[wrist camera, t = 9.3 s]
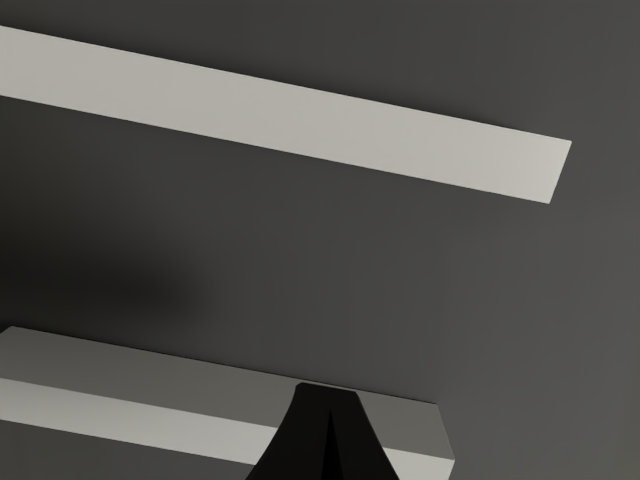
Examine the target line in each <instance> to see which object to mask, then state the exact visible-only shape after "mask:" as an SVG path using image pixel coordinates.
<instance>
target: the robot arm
mask: <svg viewBox="0 0 640 480" xmlns="http://www.w3.org/2000/svg"><path fill="white" fill-rule="evenodd" d="M245 480H400V479H399V477H398V475H397V474H396V472H395V470H394V468H393V466H392V464H391V463H390V461H389V459H388V457H387V455H386V453H385V451H384V450H383V448H382V446H381V444H380V442H379V440H378V438H377V436H376V434H375V431H374V429H373V427H372V425H371V423H370V421H369V419H368V416H367V414H366V412H365V410H364V407H363V405H362V403H361V400H360V398H359V396H358V394H357V393H356V391H351V390H345V389H339V388H333V387H328V386H322V385H316V384H310V383H305V382H301V383H299V384H297V385H296V387H295V392H294V395H293V398H292V401H291V403H290V406H289V408H288V410H287V412H286V414H285V416H284V418H283V421H282V422H281V424H280V426H279V428H278V429H277V431H276V433H275V435H274V436H273V438H272V440H271V442H270V443H269V445H268V447H267V448H266V450H265V452H264V453H263V454H262V456H261V457H260V459H259V460H258V462H257V463H256V465H255V466H254V468H253V469H252V471H251V472H250V474H249V475H248V477H247V478H246V479H245Z"/></svg>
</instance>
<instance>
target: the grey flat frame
mask: <svg viewBox="0 0 640 480" xmlns="http://www.w3.org/2000/svg"><path fill="white" fill-rule="evenodd" d="M0 95H3V96H8V97H13V98H18V99H23V100H28V101H33V102H39V103H44V104H49V105H54V106H59V107H64V108H69V109H74V110H79V111H84V112H89V113H94V114H99V115H104V116H109V117H114V118H119V119H124V120H129V121H134V122H140V123H145V124H150V125H155V126H160V127H165V128H170V129H175V130H180V131H185V132H190V133H195V134H200V135H205V136H210V137H215V138H220V139H225V140H230V141H235V142H241V143H246V144H251V145H256V146H261V147H266V148H271V149H276V150H281V151H286V152H291V153H296V154H301V155H306V156H311V157H316V158H321V159H326V160H331V161H336V162H342V163H347V164H352V165H357V166H362V167H367V168H372V169H377V170H382V171H387V172H392V173H397V174H402V175H407V176H412V177H417V178H422V179H427V180H432V181H437V182H443V183H448V184H453V185H458V186H463V187H468V188H473V189H478V190H483V191H488V192H493V193H498V194H503V195H508V196H513V197H518V198H523V199H528V200H533V201H538V202H543V203H550V200H551V197H552V195H553V192H554V189H555V186H556V184H557V181H558V178H559V176H560V173H561V170H562V167H563V165H564V162H565V159H566V156H567V154H568V151H569V148H570V146H571V143H572V141H568V140H563V139H558V138H553V137H548V136H543V135H538V134H533V133H528V132H523V131H518V130H513V129H508V128H503V127H498V126H494V125H489V124H484V123H479V122H474V121H469V120H464V119H459V118H454V117H449V116H444V115H439V114H434V113H429V112H424V111H419V110H414V109H409V108H404V107H400V106H395V105H390V104H385V103H380V102H375V101H370V100H365V99H360V98H355V97H350V96H345V95H340V94H335V93H330V92H325V91H320V90H315V89H310V88H306V87H301V86H296V85H291V84H286V83H281V82H276V81H271V80H266V79H261V78H256V77H251V76H246V75H241V74H236V73H231V72H226V71H221V70H216V69H211V68H207V67H202V66H197V65H192V64H187V63H182V62H177V61H172V60H167V59H162V58H157V57H152V56H147V55H142V54H137V53H132V52H127V51H122V50H117V49H113V48H108V47H103V46H98V45H93V44H88V43H83V42H78V41H73V40H68V39H63V38H58V37H53V36H48V35H43V34H38V33H33V32H28V31H23V30H19V29H14V28H9V27H4V26H0ZM301 382H305V383H310V384H316V385H322V386H328V387H333V388H339V389H345V390H351V391H356V393H357V394H358V396H359V398H360V400H361V403H362V405H363V407H364V410H365V412H366V414H367V416H368V419H369V421H370V423H371V425H372V427H373V429H374V431H375V434H376V436H377V438H378V440H379V442H380V444H381V446H382V448H383V450H384V451H385V453H386V455H387V457H388V459H389V461H390V463H391V464H392V466H393V468H394V470H395V472H396V474H397V475H398V477H399V479H400V480H448V478H449V475H450V473H451V470H452V467H453V465H454V462H455V459H454V456H453V453H452V450H451V447H450V444H449V441H448V437H447V434H446V431H445V428H444V425H443V422H442V419H441V416H440V413H439V410H438V407H437V404H431V403H426V402H421V401H415V400H410V399H404V398H399V397H393V396H388V395H383V394H377V393H372V392H366V391H361V390H356V389H350V388H345V387H339V386H334V385H328V384H323V383H318V382H312V381H307V380H301V379H296V378H290V377H285V376H280V375H274V374H269V373H263V372H258V371H253V370H247V369H242V368H236V367H231V366H225V365H220V364H215V363H209V362H204V361H198V360H193V359H188V358H182V357H177V356H171V355H166V354H160V353H155V352H150V351H144V350H139V349H133V348H128V347H122V346H117V345H112V344H106V343H101V342H95V341H90V340H85V339H79V338H74V337H68V336H63V335H57V334H52V333H47V332H41V331H36V330H30V329H25V328H19V327H14V326H11V327H9V328H8V329H6V330H5V331H4V332H2V333H1V334H0V419H2V420H8V421H13V422H19V423H24V424H30V425H36V426H41V427H47V428H52V429H58V430H64V431H69V432H75V433H80V434H86V435H92V436H97V437H103V438H108V439H114V440H120V441H125V442H131V443H136V444H142V445H147V446H153V447H159V448H164V449H170V450H175V451H181V452H187V453H192V454H198V455H203V456H209V457H215V458H220V459H226V460H231V461H237V462H243V463H248V464H254V465H256V463H257V462H258V460H259V459H260V457H261V456H262V454H263V453H264V452H265V450H266V448H267V447H268V445H269V443H270V442H271V440H272V438H273V436H274V435H275V433H276V431H277V429H278V428H279V426H280V424H281V422H282V421H283V418H284V416H285V414H286V412H287V410H288V408H289V406H290V403H291V401H292V398H293V395H294V392H295V387H296V385H297V384H299V383H301Z"/></svg>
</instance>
